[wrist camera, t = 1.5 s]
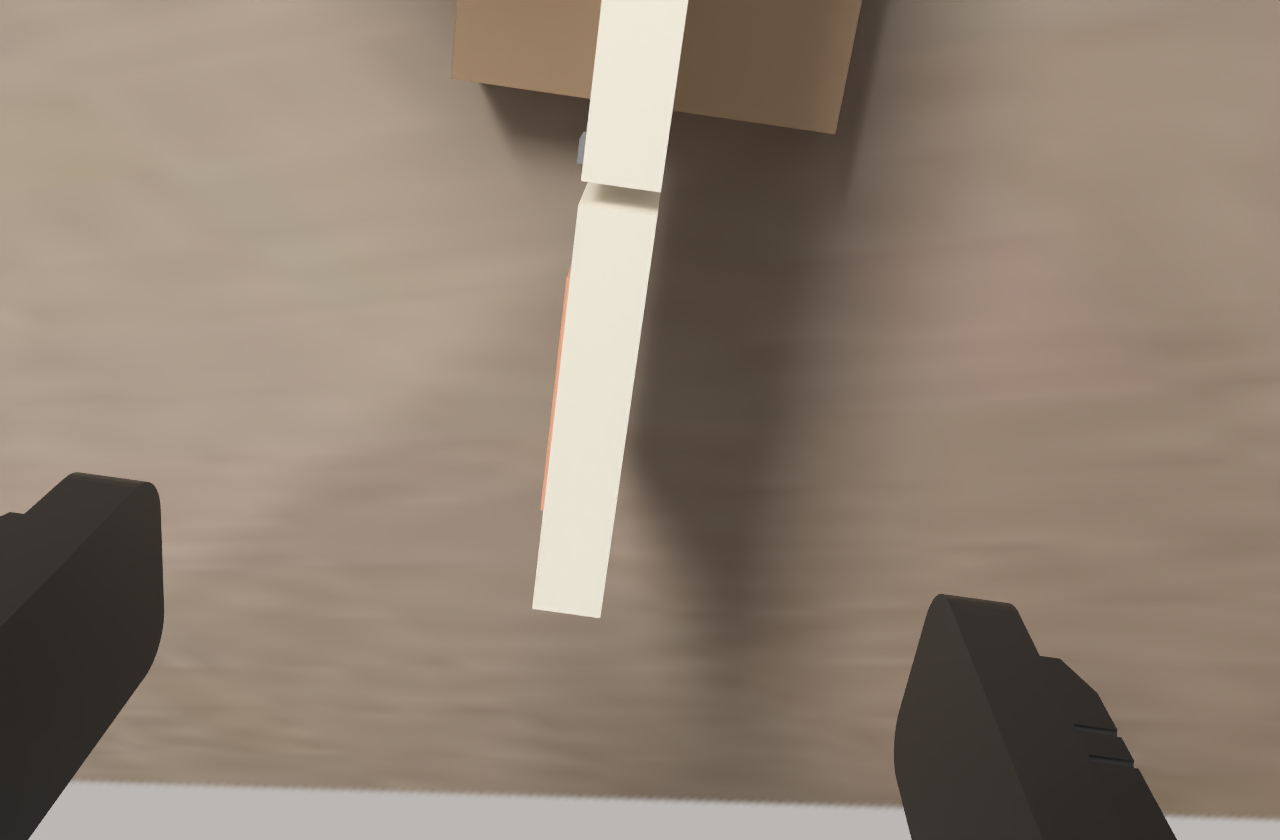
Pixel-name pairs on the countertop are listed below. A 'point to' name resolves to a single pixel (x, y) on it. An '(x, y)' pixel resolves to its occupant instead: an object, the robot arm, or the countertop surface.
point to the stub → (593, 394)
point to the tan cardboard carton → (662, 67)
